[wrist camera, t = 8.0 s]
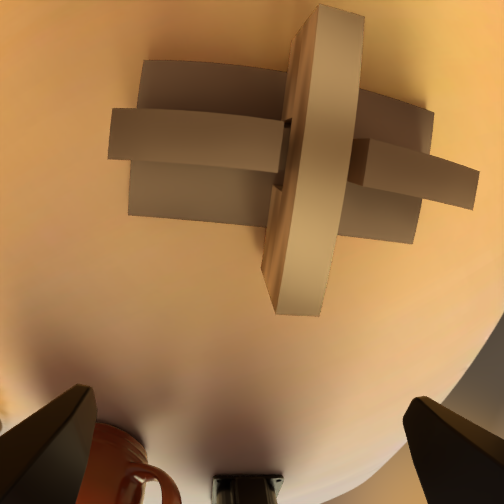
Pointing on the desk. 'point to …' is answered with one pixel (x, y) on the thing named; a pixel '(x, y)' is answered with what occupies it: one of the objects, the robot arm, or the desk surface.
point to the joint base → (271, 152)
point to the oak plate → (313, 159)
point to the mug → (121, 471)
